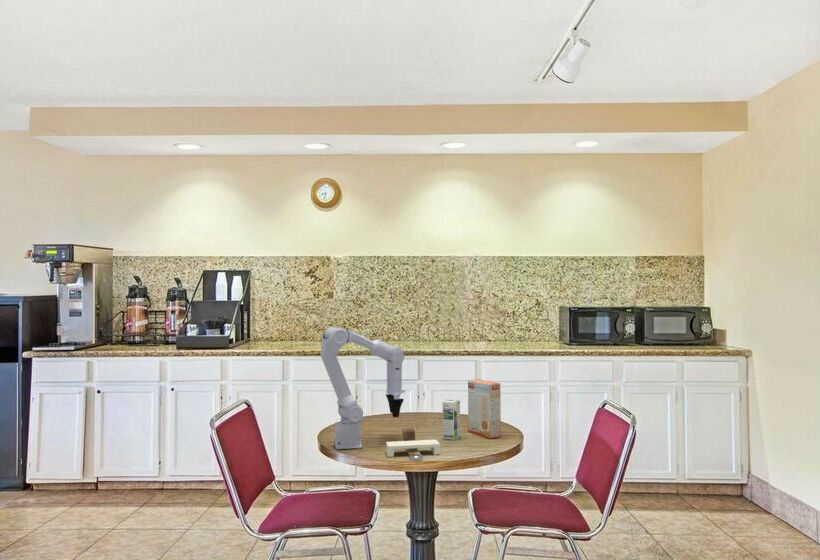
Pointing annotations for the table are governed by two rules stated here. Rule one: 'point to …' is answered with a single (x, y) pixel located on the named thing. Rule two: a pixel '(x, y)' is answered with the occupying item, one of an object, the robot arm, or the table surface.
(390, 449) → the shelf
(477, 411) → the cracker box
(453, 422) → the syrup box
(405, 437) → the brown wooden mallet
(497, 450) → the table surface
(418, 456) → the steel disc
